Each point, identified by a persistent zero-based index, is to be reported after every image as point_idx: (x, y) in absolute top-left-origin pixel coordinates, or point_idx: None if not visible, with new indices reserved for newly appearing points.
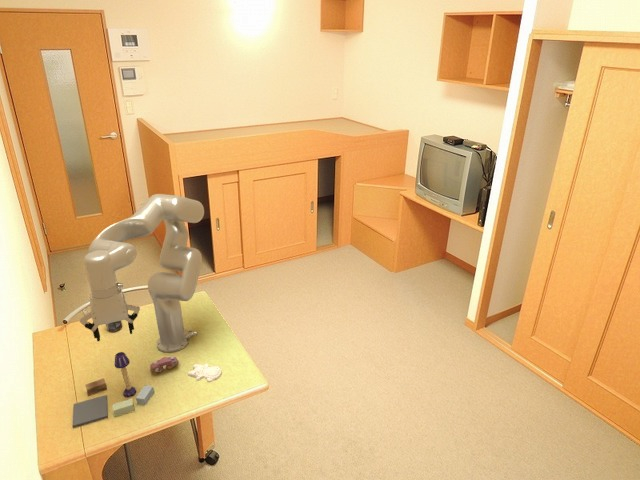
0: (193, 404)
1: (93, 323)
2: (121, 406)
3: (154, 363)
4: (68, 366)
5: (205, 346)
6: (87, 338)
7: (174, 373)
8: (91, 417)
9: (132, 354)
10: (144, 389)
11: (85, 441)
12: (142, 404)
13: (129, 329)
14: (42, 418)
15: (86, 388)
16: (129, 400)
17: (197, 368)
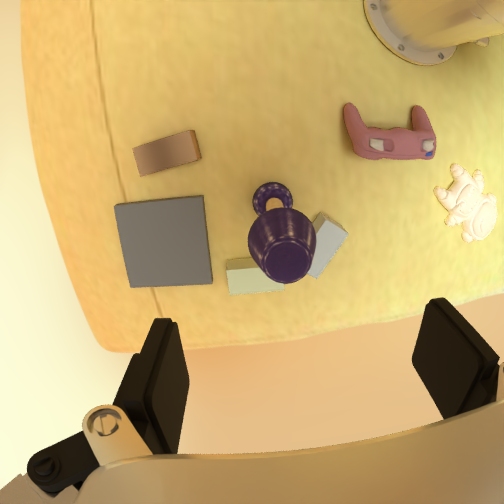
0: (413, 301)
1: (108, 462)
2: (252, 287)
3: (374, 146)
4: (84, 22)
5: (486, 90)
6: None
7: (405, 165)
8: (171, 276)
9: (281, 9)
10: (322, 239)
11: None
12: None
13: (429, 389)
14: (57, 224)
15: (138, 168)
16: None
17: (465, 201)
